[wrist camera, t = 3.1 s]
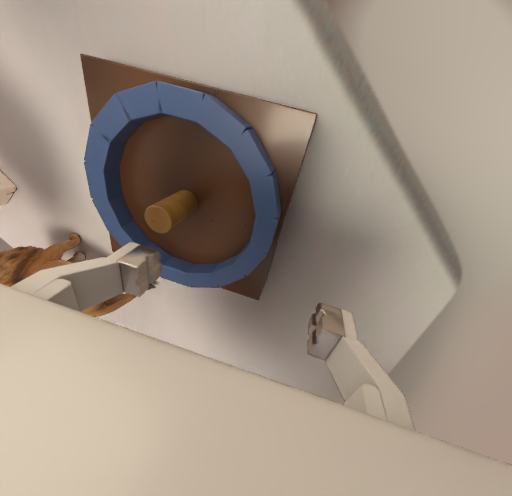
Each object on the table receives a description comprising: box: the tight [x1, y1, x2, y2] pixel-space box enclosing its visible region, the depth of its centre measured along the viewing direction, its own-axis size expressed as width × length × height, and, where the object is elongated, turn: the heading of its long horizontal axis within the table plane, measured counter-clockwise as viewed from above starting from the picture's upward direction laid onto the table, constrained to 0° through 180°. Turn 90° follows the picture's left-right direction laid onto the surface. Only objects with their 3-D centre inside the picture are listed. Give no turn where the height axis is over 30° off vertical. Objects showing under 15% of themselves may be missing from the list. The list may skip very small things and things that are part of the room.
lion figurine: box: [0, 233, 155, 317], centre depth 23 cm, size 15×5×9 cm, turn 72°
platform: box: [80, 54, 317, 300], centre depth 17 cm, size 16×16×6 cm
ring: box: [84, 81, 281, 288], centre depth 17 cm, size 15×15×2 cm
